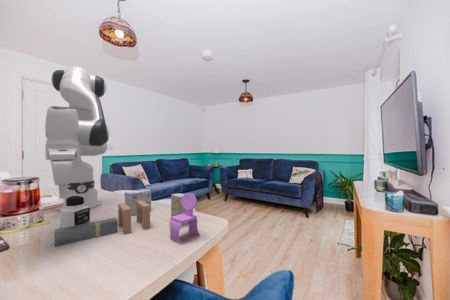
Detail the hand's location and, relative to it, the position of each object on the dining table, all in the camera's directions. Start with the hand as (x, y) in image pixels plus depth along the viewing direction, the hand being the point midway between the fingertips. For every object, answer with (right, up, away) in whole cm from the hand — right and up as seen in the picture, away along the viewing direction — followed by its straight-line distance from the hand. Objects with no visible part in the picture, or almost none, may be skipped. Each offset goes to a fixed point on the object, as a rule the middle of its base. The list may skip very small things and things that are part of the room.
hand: (63, 195), depth 66 cm
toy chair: (+40, -16, +3) cm, 43 cm away
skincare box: (+35, -16, +16) cm, 42 cm away
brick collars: (+17, -16, +14) cm, 27 cm away
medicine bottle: (-8, -16, +16) cm, 24 cm away
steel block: (+5, -16, +4) cm, 17 cm away
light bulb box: (+11, -16, +33) cm, 38 cm away
